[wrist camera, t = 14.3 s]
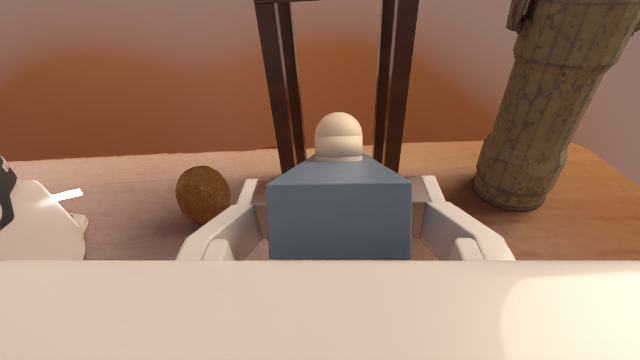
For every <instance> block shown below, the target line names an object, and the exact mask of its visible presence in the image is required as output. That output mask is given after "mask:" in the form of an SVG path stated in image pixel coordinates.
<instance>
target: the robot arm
mask: <svg viewBox="0 0 640 360" xmlns="http://www.w3.org/2000/svg"><path fill="white" fill-rule="evenodd" d="M404 178H406V179H407V180H409V181H411V182H412V232H411V238H419V239H420V240H421V241H422V242H423V243H424V244H425V245H426V246H427V247H428V248H429V249H430V250H431V251H432V252H433V253H434V254H435V255H436V256H437V257H438V258H439V260H440V261H243V260H244V259H245V258H246V257H247V255H248V254H249V253H250V252H251V251H252V250H253V249H254V248H255V247H256V246H257V245H258V243H259V242H260V241H261V240H262V238H268V219H267V198H266V184H268V183H269V182H271V181H273V180H274V179H246V180H245V182H244V185H243V187H242V190H241V192H240V195H239V198H238V200H237V203H236V205H231V206H230V207H228V208H227V209H226V210H224V211H223V212H222V213H220V214H219V215H217V216H216V217H215V218H213V219H212V220H210V221H209V222H208V223H206V224H205V225H203V226H202V227H201V228H199V229H198V230H197V231H195V232H194V233H192V234H191V235H190V236H188V237H187V238H186V239H185V241H184V243H183V245H182V247H181V249H180V250H179V252H178V254H177V256H176V258H175V260H174V261H162V260H83V258H84V255H85V250H86V244H85V240H84V232H85V230H86V228H87V226H88V223H89V221H88V219H87V218H86V217H85V216H84V215H82V214H68V213H67V212H66V211H65V210H64V208H63V207H62V206H61V205H60V204H59V203H58V202H57V201H59V200H63V199H67V198H71V197H75V196H79V195H82V192H81V190H80V189H76V190H72V191H67V192H63V193H59V194H55V195H51V194H50V193H49V192H48V191H47V190H46V189H45V188H44V186H43V185H42V184H41V183H39V182H38V181H35V180H34V181H32V180H28V179H18V178H17V177H16V175H15V173H14V172H13V171H12V170H11V168H10V167H9V164H8V163H7V162H6V160H5V159H4V158H3V157H2V156H1V155H0V360H640V261H516V260H515V258H514V256H513V254H512V253H511V251H510V249H509V247H508V246H507V244H506V242H505V240H504V238H503V237H502V236H500V235H499V234H497V233H496V232H494V231H493V230H491V229H490V228H488V227H487V226H485V225H484V224H482V223H481V222H479V221H478V220H476V219H475V218H473V217H472V216H470V215H469V214H467V213H466V212H464V211H463V210H461V209H459V208H458V207H456V206H455V205H453V204H452V203H450V202H446V201H445V199H444V196H443V194H442V192H441V189H440V187H439V185H438V182H437V180H436V178H435V176H433V175H429V176H412V177H404Z"/></svg>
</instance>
